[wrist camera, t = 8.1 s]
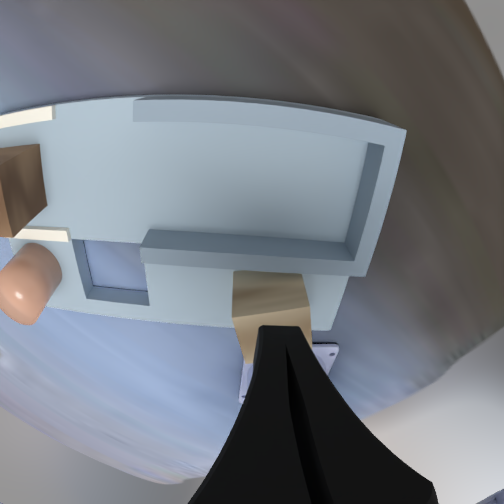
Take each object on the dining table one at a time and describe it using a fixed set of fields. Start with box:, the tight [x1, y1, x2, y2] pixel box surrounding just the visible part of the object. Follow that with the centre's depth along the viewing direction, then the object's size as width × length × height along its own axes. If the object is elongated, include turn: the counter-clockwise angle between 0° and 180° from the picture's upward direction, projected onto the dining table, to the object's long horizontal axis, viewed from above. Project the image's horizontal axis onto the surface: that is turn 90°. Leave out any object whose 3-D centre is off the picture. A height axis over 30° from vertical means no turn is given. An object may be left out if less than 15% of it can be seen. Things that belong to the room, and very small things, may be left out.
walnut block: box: [0, 144, 48, 238], centre depth 13 cm, size 4×4×4 cm
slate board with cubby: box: [0, 94, 407, 331], centre depth 17 cm, size 15×24×4 cm, turn 84°
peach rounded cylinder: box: [0, 243, 62, 325], centre depth 17 cm, size 4×4×4 cm
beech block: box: [232, 270, 312, 364], centre depth 18 cm, size 4×4×4 cm
